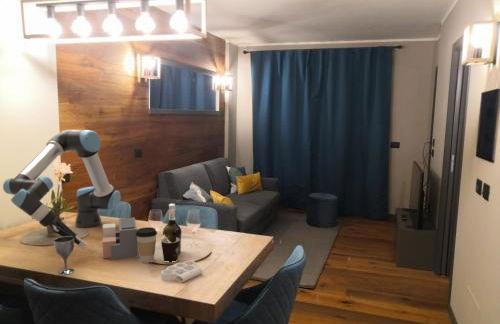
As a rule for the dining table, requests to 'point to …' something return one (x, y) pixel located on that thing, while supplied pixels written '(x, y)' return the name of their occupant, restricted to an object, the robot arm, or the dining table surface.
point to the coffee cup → (146, 243)
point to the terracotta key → (108, 246)
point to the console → (125, 240)
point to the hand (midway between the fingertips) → (84, 246)
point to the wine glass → (64, 251)
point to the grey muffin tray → (181, 271)
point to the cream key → (109, 230)
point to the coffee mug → (170, 250)
